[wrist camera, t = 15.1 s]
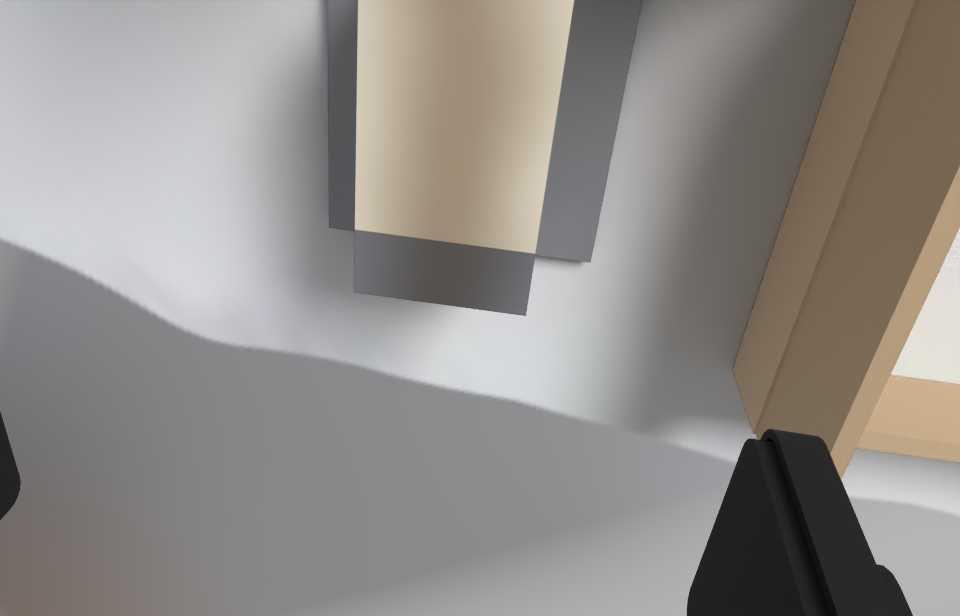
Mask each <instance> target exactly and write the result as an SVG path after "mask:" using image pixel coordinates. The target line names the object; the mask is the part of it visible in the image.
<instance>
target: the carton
mask: <svg viewBox="0 0 960 616" xmlns="http://www.w3.org/2000/svg"><path fill="white" fill-rule="evenodd" d="M959 228H960V0H856V2H855V5H854V8H853V11H852V14H851V17H850V20H849V23H848V26H847V29H846V32H845V35H844V38H843V41H842V43H841V46H840V49H839V52H838V55H837V58H836V61H835V64H834V67H833V70H832V73H831V76H830V79H829V82H828V85H827V88H826V91H825V94H824V97H823V100H822V103H821V106H820V109H819V112H818V115H817V118H816V121H815V124H814V127H813V130H812V133H811V136H810V139H809V142H808V145H807V148H806V151H805V154H804V157H803V160H802V163H801V166H800V169H799V172H798V175H797V178H796V181H795V184H794V187H793V190H792V193H791V196H790V199H789V202H788V205H787V208H786V211H785V214H784V217H783V220H782V223H781V226H780V229H779V232H778V235H777V238H776V241H775V244H774V247H773V250H772V253H771V256H770V259H769V262H768V265H767V268H766V271H765V274H764V277H763V280H762V283H761V286H760V289H759V292H758V295H757V298H756V300H755V303H754V306H753V309H752V312H751V315H750V318H749V321H748V324H747V327H746V330H745V333H744V336H743V339H742V342H741V345H740V348H739V351H738V354H737V357H736V360H735V363H734V366H733V369H732V371H733V374H734V377H735V380H736V383H737V386H738V389H739V392H740V395H741V398H742V401H743V404H744V407H745V410H746V413H747V416H748V419H749V422H750V425H751V428H752V431H753V434H756V436H757V439H758V440H760V439H761V437H762V435H763V433H764V432H765V431H766V430H768V429H775V430H782V431H788V432H795V433H801V434H808V435H814V436H819V437H820V438H822V439H823V440H824V442H825V443H826V445H827V447H828V450H829V452H830V455H831V457H832V459H833V462H834V464H835V467H836V469H837V471H838V474H839V476H840V479H842V477H843V474H844V472H845V470H846V468H847V466H848V464H849V462H850V460H851V457H852V455H853V453H854V451H855V449H856V448H860V449H867V450H874V451H881V452H888V453H895V454H902V455H909V456H917V457H924V458H931V459H938V460H945V461H952V462H959V463H960V385H959V384H952V383H944V382H937V381H930V380H922V379H915V378H908V377H901V376H893V375H890V374H891V372H892V370H893V368H894V366H895V364H896V362H897V360H898V357H899V355H900V353H901V351H902V349H903V347H904V345H905V343H906V340H907V338H908V336H909V334H910V332H911V330H912V328H913V326H914V323H915V321H916V319H917V317H918V315H919V313H920V311H921V309H922V306H923V304H924V302H925V300H926V298H927V296H928V294H929V292H930V289H931V287H932V285H933V283H934V281H935V279H936V277H937V275H938V272H939V270H940V268H941V266H942V264H943V262H944V260H945V258H946V255H947V253H948V251H949V249H950V247H951V245H952V243H953V241H954V238H955V236H956V234H957V232H958V230H959Z"/></svg>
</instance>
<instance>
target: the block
mask: <svg viewBox="0 0 960 616" xmlns="http://www.w3.org/2000/svg"><path fill="white" fill-rule="evenodd" d="M573 5H574V0H358V39H357V110H356V180H355V250H354V292H355V293H363V294H370V295H377V296H385V297H392V298H399V299H406V300H414V301H421V302H428V303H436V304H443V305H450V306H457V307H465V308H472V309H479V310H487V311H494V312H501V313H508V314H516V315H523V316H526V311H527V304H528V298H529V291H530V285H531V278H532V272H533V265H534V259H535V252H536V246H537V239H538V233H539V226H540V219H541V213H542V206H543V200H544V193H545V187H546V180H547V174H548V167H549V161H550V154H551V148H552V141H553V135H554V128H555V122H556V115H557V109H558V102H559V96H560V89H561V83H562V76H563V70H564V63H565V57H566V50H567V44H568V37H569V31H570V24H571V18H572V11H573Z"/></svg>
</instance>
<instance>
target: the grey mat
mask: <svg viewBox="0 0 960 616" xmlns="http://www.w3.org/2000/svg"><path fill="white" fill-rule="evenodd" d="M641 3H642V0H574V5H573V11H572V18H571V24H570V31H569V37H568V44H567V50H566V57H565V63H564V70H563V76H562V83H561V89H560V96H559V102H558V109H557V115H556V122H555V128H554V135H553V141H552V148H551V154H550V161H549V167H548V174H547V180H546V187H545V193H544V200H543V206H542V213H541V219H540V226H539V233H538V239H537V246H536V252H535V255H538V256H546V257H553V258H561V259H568V260H576V261H583V262H591V257H592V252H593V247H594V242H595V236H596V231H597V226H598V221H599V216H600V211H601V206H602V201H603V196H604V191H605V186H606V181H607V175H608V170H609V165H610V160H611V155H612V150H613V145H614V140H615V135H616V130H617V125H618V119H619V114H620V109H621V104H622V99H623V94H624V89H625V84H626V79H627V74H628V69H629V64H630V58H631V53H632V48H633V43H634V38H635V33H636V28H637V23H638V18H639V13H640V8H641ZM357 39H358V0H328V136H329V228H336V229H344V230H351V231H355V180H356V110H357Z"/></svg>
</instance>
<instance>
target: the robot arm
mask: <svg viewBox="0 0 960 616" xmlns="http://www.w3.org/2000/svg"><path fill="white" fill-rule="evenodd" d="M20 483H21V482H20V476H19V473H18V469H17V466H16V463H15V460H14V456H13V453H12V449H11V446H10V443H9V439H8V436H7V433H6V429H5V426H4V423H3V419H2V416H1V413H0V520H1V519H2V517H3V516H4V515H5V514H6V513H7V512H8V511H9V510H10V509H11V507H12V506H13V505H14V503H15V501H16V499H17V497H18V494H19V490H20ZM687 616H913V615H912V613H911V610H910V608H909V606H908V603H907V601H906V599H905V597H904V594H903V592H902V590H901V588H900V586H899V584H898V582H897V580H896V579H895V577H894V575H893V574H892V573H891V572H890V571H889V570H888V569H887V568H885V567H884V566H882V565H877V564H876V562H875V560H874V558H873V555H872V553H871V550H870V548H869V546H868V543H867V541H866V539H865V536H864V534H863V531H862V529H861V527H860V524H859V522H858V519H857V517H856V514H855V512H854V510H853V507H852V505H851V503H850V500H849V498H848V495H847V493H846V491H845V488H844V486H843V483H842V481H841V479H840V476H839V474H838V471H837V469H836V467H835V464H834V462H833V459H832V457H831V455H830V452H829V450H828V447H827V445H826V443H825V442H824V440H823V439H822V438H820V437H819V436H814V435H808V434H801V433H795V432H788V431H782V430H775V429H768V430H766V431H765V432H764V433H763V435H762V437H761V439H760V440H757V439H748V440H747V441H746V442H745V443H744V446H743V448H742V450H741V453H740V456H739V458H738V461H737V464H736V467H735V469H734V472H733V475H732V477H731V480H730V483H729V486H728V488H727V491H726V494H725V496H724V499H723V502H722V505H721V508H720V510H719V513H718V515H717V518H716V521H715V524H714V526H713V529H712V532H711V534H710V537H709V540H708V542H707V545H706V548H705V551H704V553H703V556H702V559H701V561H700V564H699V567H698V570H697V572H696V575H695V578H694V580H693V583H692V586H691V588H690V592H689V597H688V604H687Z"/></svg>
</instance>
